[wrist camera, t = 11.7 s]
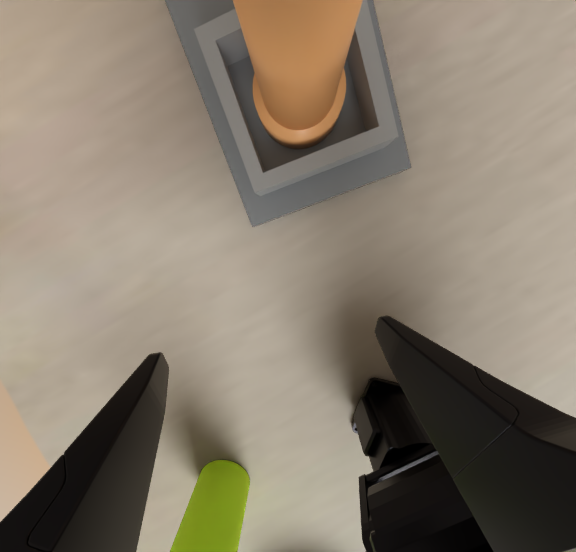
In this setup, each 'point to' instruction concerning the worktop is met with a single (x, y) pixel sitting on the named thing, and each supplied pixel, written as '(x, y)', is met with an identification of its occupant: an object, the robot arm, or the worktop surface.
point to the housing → (255, 140)
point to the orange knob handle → (298, 64)
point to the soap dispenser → (214, 510)
